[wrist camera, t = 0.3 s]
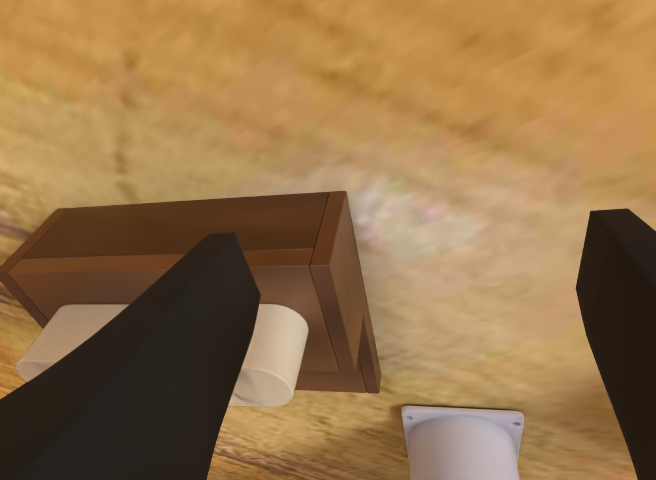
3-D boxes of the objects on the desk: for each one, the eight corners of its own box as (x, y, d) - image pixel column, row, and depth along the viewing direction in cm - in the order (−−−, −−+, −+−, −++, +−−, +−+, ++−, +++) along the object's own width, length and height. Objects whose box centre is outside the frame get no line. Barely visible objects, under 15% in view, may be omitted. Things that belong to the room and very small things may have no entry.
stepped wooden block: (381, 373, 30) (374, 448, 27) (165, 366, 34) (133, 431, 30) (346, 190, 21) (329, 265, 17) (57, 208, 25) (-8, 273, 21)
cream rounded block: (326, 380, 23) (314, 444, 20) (104, 372, 26) (71, 426, 23) (301, 303, 19) (283, 369, 17) (47, 303, 22) (1, 359, 20)
